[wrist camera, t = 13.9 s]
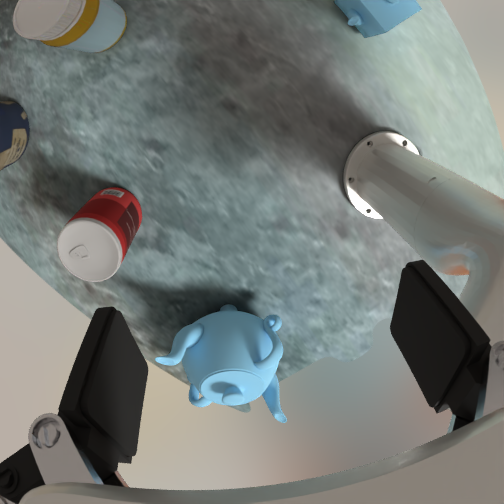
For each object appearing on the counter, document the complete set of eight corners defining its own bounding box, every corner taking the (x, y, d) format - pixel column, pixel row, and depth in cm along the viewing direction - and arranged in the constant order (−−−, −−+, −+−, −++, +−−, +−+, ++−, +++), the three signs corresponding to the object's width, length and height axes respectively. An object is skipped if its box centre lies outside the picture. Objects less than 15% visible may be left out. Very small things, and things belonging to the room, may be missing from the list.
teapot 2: (343, 51, 30) (370, 46, 24) (311, 15, 28) (332, 1, 21) (402, 11, 27) (434, 3, 20) (374, -23, 24) (402, -38, 18)
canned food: (80, 204, 37) (44, 243, 28) (122, 173, 36) (90, 205, 26) (111, 246, 41) (86, 293, 31) (154, 219, 40) (135, 263, 30)
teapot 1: (274, 362, 56) (286, 424, 44) (172, 359, 54) (165, 423, 42) (291, 297, 48) (312, 365, 36) (167, 291, 46) (153, 361, 34)
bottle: (83, 62, 28) (13, 57, 15) (73, 18, 24) (6, -3, 11) (133, 40, 27) (81, 16, 14) (123, -5, 24) (72, -45, 11)
